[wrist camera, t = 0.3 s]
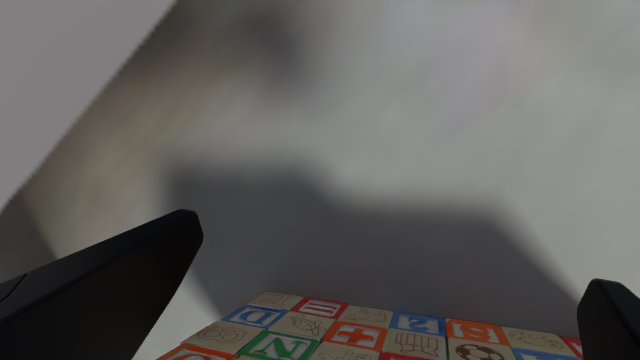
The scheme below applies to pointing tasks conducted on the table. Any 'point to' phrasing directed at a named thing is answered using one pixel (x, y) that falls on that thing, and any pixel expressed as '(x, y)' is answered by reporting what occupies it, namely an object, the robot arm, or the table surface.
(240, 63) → the table surface
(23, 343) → the robot arm
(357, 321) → the stack of blocks
